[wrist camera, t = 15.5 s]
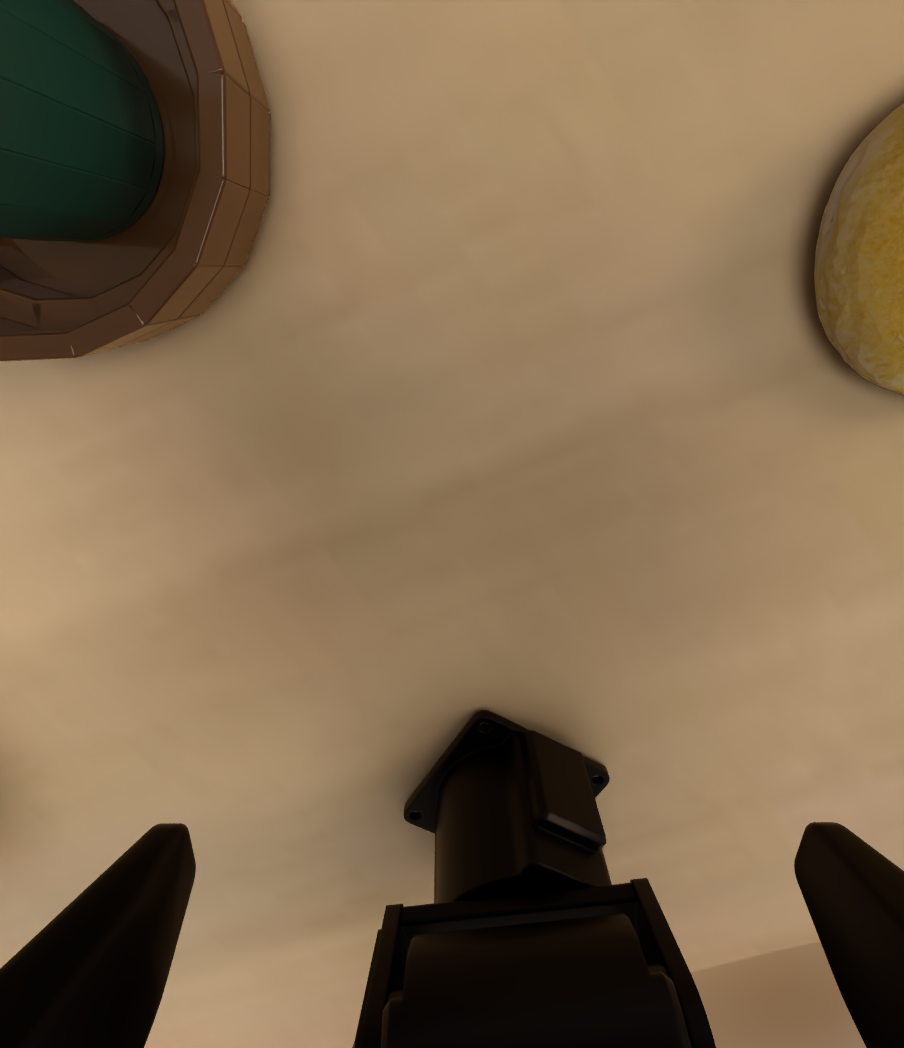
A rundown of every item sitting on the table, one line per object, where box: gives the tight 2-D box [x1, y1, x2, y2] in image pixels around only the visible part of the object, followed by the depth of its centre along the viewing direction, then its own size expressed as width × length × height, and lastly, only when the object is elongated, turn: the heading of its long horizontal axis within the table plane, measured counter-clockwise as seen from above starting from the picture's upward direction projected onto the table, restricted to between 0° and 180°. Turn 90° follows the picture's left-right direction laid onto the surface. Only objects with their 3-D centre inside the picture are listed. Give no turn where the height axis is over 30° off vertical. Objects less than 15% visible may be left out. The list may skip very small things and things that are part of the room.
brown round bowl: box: [0, 0, 271, 361], centre depth 14 cm, size 11×11×4 cm
